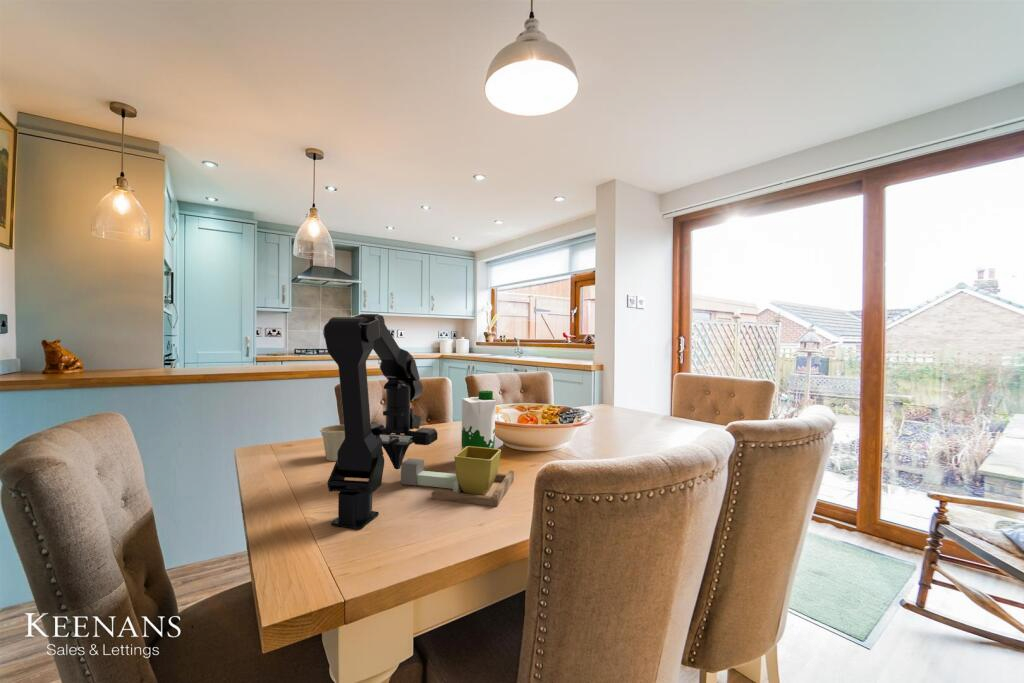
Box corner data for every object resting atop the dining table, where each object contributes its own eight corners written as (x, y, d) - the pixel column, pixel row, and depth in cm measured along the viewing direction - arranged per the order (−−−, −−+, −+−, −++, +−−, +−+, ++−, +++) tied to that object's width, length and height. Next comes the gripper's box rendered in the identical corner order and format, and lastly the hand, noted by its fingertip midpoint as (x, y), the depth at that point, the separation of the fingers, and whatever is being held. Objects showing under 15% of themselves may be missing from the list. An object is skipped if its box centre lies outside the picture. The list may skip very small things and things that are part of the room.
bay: (497, 506, 87) (497, 494, 87) (431, 498, 90) (431, 487, 90) (513, 480, 102) (513, 470, 102) (456, 475, 105) (456, 465, 105)
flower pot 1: (322, 454, 121) (322, 425, 121) (356, 452, 124) (356, 423, 124) (317, 464, 112) (317, 433, 112) (354, 461, 115) (354, 430, 115)
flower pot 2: (501, 485, 99) (501, 448, 98) (490, 500, 90) (491, 459, 90) (466, 482, 101) (467, 445, 101) (453, 495, 92) (453, 456, 92)
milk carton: (498, 465, 114) (499, 393, 113) (467, 469, 110) (468, 395, 110) (486, 456, 122) (487, 389, 121) (457, 459, 118) (458, 390, 118)
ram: (457, 493, 93) (458, 471, 93) (396, 486, 96) (396, 465, 96) (469, 481, 101) (469, 461, 101) (412, 475, 104) (412, 455, 104)
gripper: (446, 402, 106) (445, 462, 106) (381, 398, 110) (381, 456, 111) (427, 410, 95) (427, 476, 95) (356, 405, 99) (356, 469, 100)
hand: (397, 468), depth 101 cm, fingers closed
